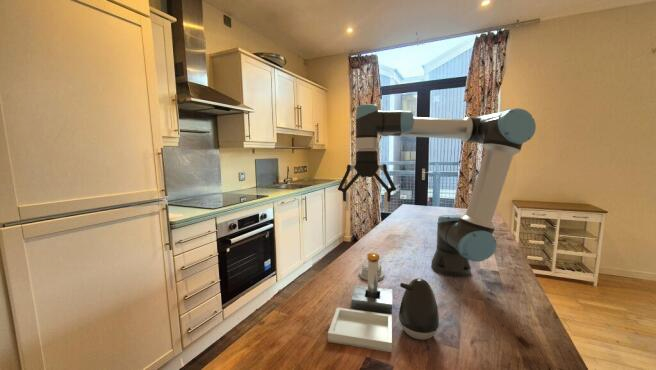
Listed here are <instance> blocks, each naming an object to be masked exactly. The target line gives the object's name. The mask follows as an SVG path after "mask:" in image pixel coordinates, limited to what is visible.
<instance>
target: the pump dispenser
mask: <svg viewBox="0 0 656 370" xmlns="http://www.w3.org/2000/svg"><path fill="white" fill-rule="evenodd" d="M399 286H400V288H403V289H404V292H403V296H402V299H401V301H400V305H399V306H400V307H399V311H398V320H399V322H400V325H401V327H402V330H403V331H404V333H406V334H407V336H409V337H411V338H412V339H416V340H420V341H421V340H422V341H425V340H428V339H430V338H432V337H433V336H434V335H435V334H436V333H437V329H438V328H439V324H440V317H439V310H438V309H439V308H438V304H437V299H436V297H435V294H434V292H433V289H432V287H431V286H430V284H429V282H428V281H426V280H425V279H423V278H415V279H412V280H411V281H410V282H409V283H408V284H407V283H404V282H400V284H399Z"/></svg>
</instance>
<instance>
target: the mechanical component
mask: <svg viewBox="0 0 656 370" xmlns="http://www.w3.org/2000/svg"><path fill="white" fill-rule="evenodd" d="M358 275H359V278H361V279H363V280H364V281H368V262H365V263H362V265H361V269H359V271H358ZM384 278H385V272H384V271H383V270H382V265H380V263H378V282H379V281H382V280H383V279H384Z"/></svg>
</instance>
